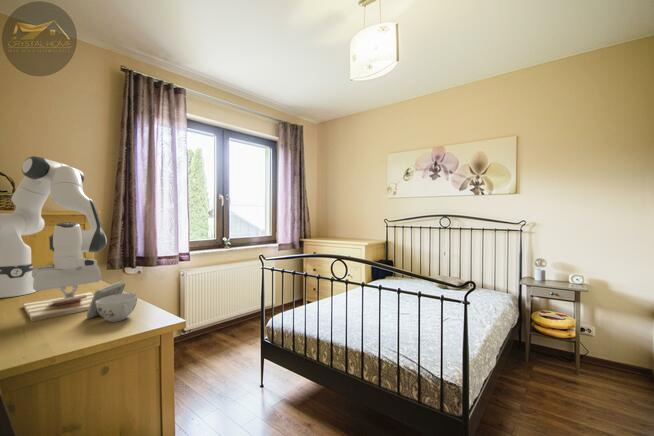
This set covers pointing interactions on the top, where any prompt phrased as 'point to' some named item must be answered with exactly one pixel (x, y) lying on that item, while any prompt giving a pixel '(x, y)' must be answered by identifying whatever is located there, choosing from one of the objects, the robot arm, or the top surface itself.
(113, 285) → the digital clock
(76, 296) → the tile
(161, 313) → the top surface
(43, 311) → the board
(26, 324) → the top surface
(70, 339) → the top surface
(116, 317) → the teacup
